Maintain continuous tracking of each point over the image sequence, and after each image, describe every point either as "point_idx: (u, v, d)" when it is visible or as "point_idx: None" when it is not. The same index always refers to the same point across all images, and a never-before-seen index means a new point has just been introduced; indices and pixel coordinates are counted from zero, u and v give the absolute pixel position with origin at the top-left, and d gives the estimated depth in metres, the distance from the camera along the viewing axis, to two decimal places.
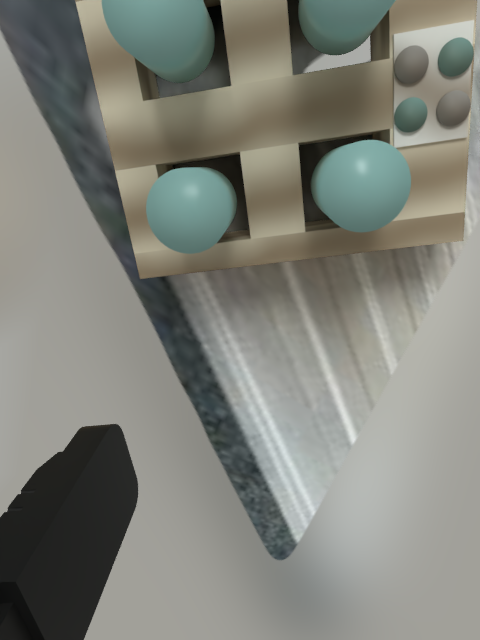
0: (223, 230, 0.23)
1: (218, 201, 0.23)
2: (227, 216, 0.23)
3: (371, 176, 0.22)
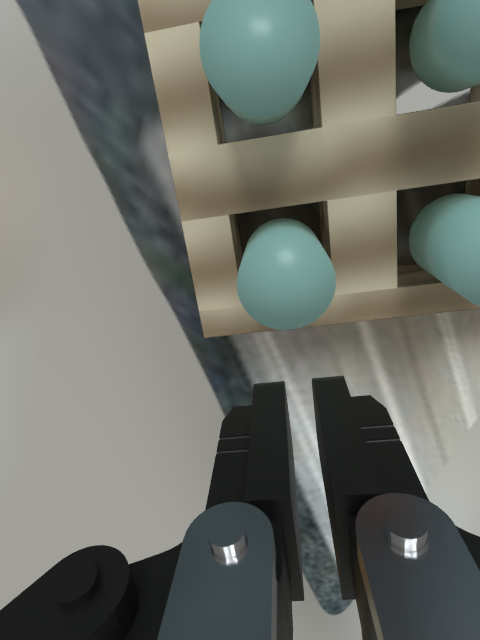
0: (327, 304, 0.20)
1: (324, 272, 0.19)
2: (333, 289, 0.19)
3: None
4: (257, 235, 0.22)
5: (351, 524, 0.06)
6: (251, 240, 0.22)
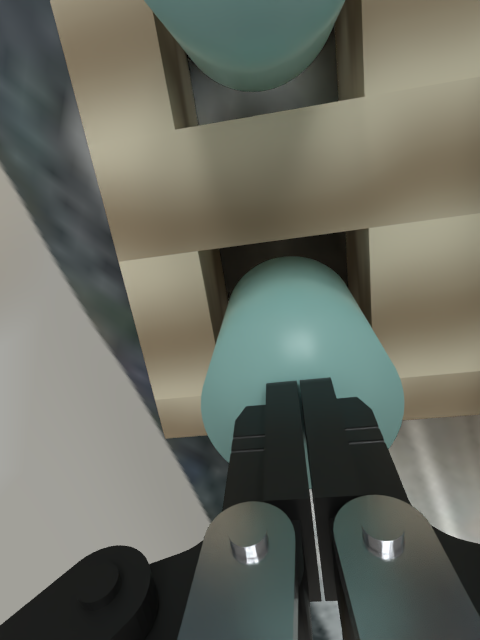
0: None
1: (381, 391, 0.09)
2: (398, 422, 0.09)
3: None
4: (245, 296, 0.12)
5: (332, 526, 0.06)
6: (234, 303, 0.12)
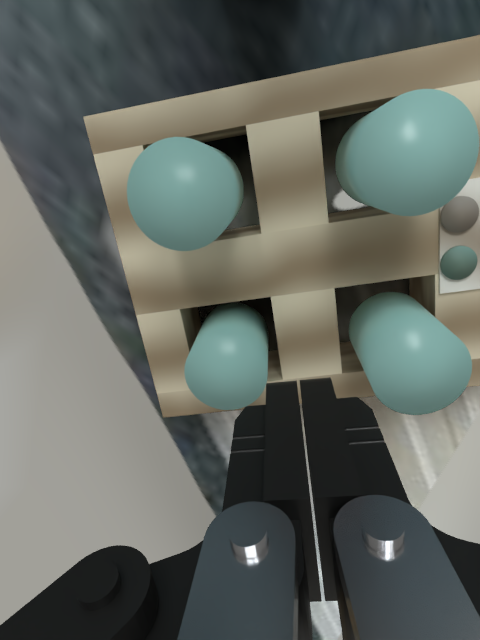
0: (262, 389, 0.23)
1: (257, 364, 0.23)
2: (266, 377, 0.23)
3: (427, 362, 0.19)
4: (206, 325, 0.25)
5: (331, 526, 0.06)
6: (201, 328, 0.26)
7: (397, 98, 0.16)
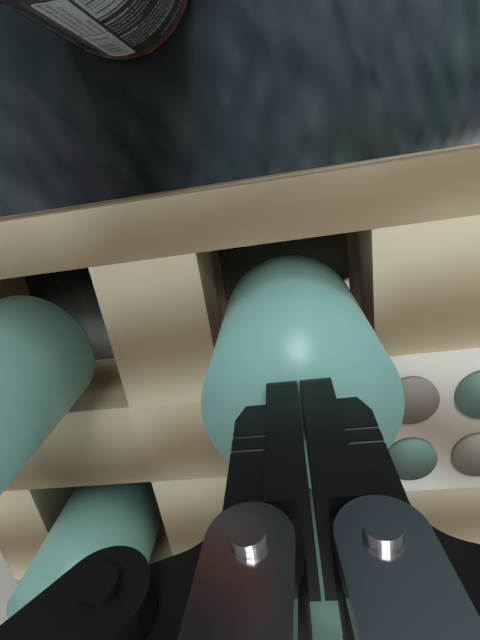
0: None
1: None
2: None
3: None
4: (58, 522, 0.18)
5: (331, 526, 0.06)
6: (55, 522, 0.18)
7: (259, 328, 0.09)
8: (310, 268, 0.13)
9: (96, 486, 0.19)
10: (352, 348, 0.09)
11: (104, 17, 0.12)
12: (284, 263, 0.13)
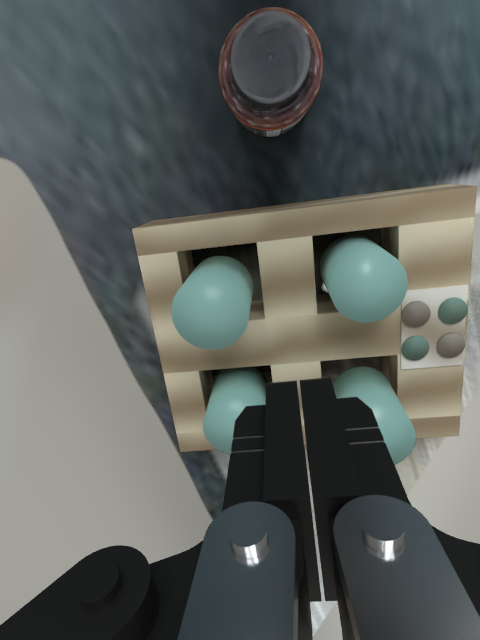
0: None
1: None
2: None
3: (384, 432, 0.27)
4: (219, 386, 0.32)
5: (331, 526, 0.06)
6: (215, 387, 0.33)
7: (356, 254, 0.25)
8: (366, 239, 0.29)
9: (235, 371, 0.34)
10: (389, 261, 0.25)
11: (284, 129, 0.26)
12: (353, 237, 0.29)
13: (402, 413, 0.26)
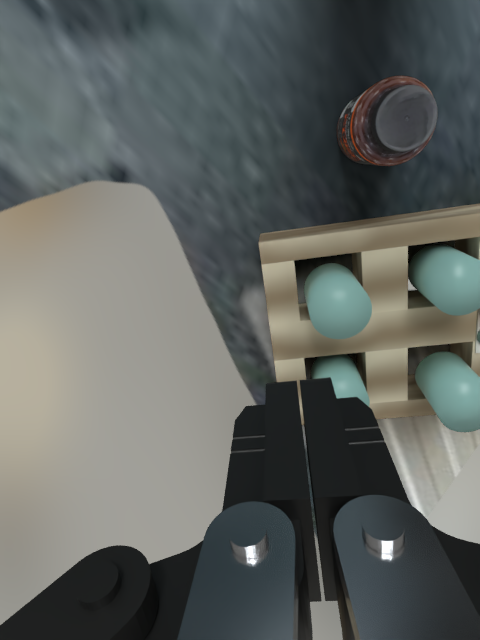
0: None
1: (363, 398, 0.37)
2: None
3: (473, 402, 0.33)
4: (324, 370, 0.39)
5: (331, 526, 0.06)
6: (320, 371, 0.39)
7: (454, 261, 0.31)
8: (451, 247, 0.35)
9: (333, 357, 0.40)
10: None
11: None
12: (440, 246, 0.36)
13: None
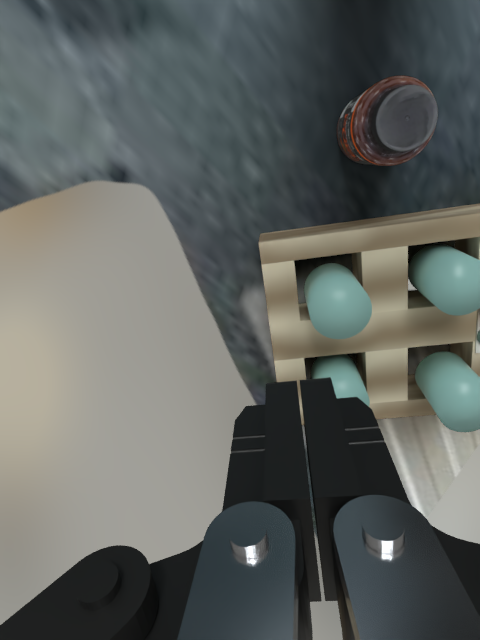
0: None
1: (363, 398, 0.37)
2: None
3: (473, 402, 0.33)
4: (324, 370, 0.39)
5: (331, 526, 0.06)
6: (320, 371, 0.39)
7: (454, 261, 0.31)
8: (451, 247, 0.35)
9: (333, 357, 0.40)
10: None
11: None
12: (440, 246, 0.36)
13: None
